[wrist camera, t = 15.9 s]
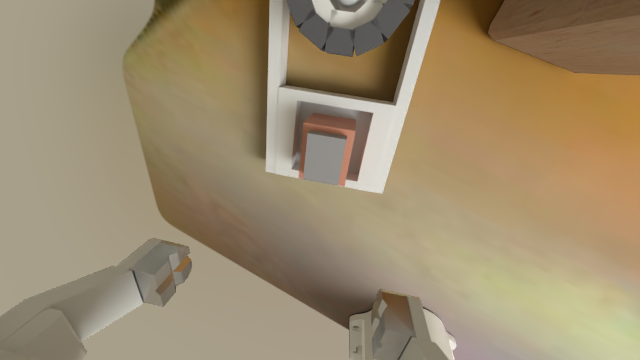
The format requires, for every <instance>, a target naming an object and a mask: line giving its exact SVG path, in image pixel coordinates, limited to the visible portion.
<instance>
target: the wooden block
mask: <svg viewBox="0 0 640 360" xmlns="http://www.w3.org/2000/svg"><path fill="white" fill-rule="evenodd" d="M488 34H489V35H490V36H491V38H492V39H493V40H494V41H496V42H499V43H501V44H504V45H506V46H509V47H511V48H514V49H516V50H519V51H521V52H524V53H526V54H529V55H531V56H534V57H537V58H539V59H542V60H544V61H547V62H549V63H552V64H554V65H557V66H559V67H562V68H564V69H567V70H569V71H572V72H574V73H591V74H616V75H640V0H505V1H504V2H503V4H502V6H501V7H500V9H499V11H498V12H497V14H496V16H495V18H494V19H493V21H492V23H491V25H490V28H489V31H488Z"/></svg>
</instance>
